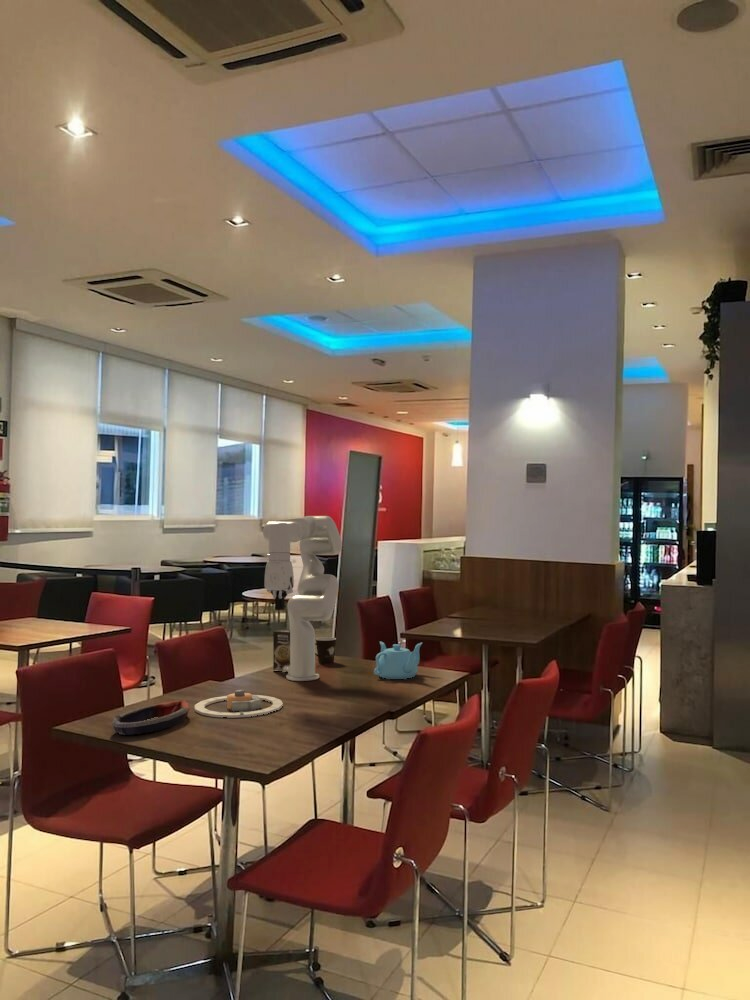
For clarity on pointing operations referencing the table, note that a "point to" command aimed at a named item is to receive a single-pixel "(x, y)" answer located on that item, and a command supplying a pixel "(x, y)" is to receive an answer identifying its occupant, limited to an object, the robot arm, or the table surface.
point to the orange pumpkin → (238, 697)
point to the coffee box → (281, 649)
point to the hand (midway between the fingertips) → (279, 609)
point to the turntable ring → (203, 711)
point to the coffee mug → (325, 649)
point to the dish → (164, 711)
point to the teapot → (397, 662)
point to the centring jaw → (247, 704)
